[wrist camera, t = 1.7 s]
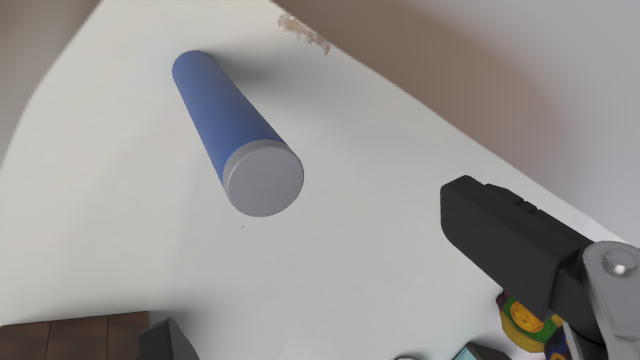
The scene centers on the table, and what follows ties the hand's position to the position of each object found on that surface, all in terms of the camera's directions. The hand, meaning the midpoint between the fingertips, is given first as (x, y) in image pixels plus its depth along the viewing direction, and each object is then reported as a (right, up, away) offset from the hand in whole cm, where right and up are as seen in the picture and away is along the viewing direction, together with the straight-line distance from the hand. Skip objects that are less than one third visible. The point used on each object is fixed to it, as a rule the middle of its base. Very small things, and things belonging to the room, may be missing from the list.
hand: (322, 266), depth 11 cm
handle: (-9, +10, +16) cm, 21 cm away
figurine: (+31, -16, +53) cm, 64 cm away
